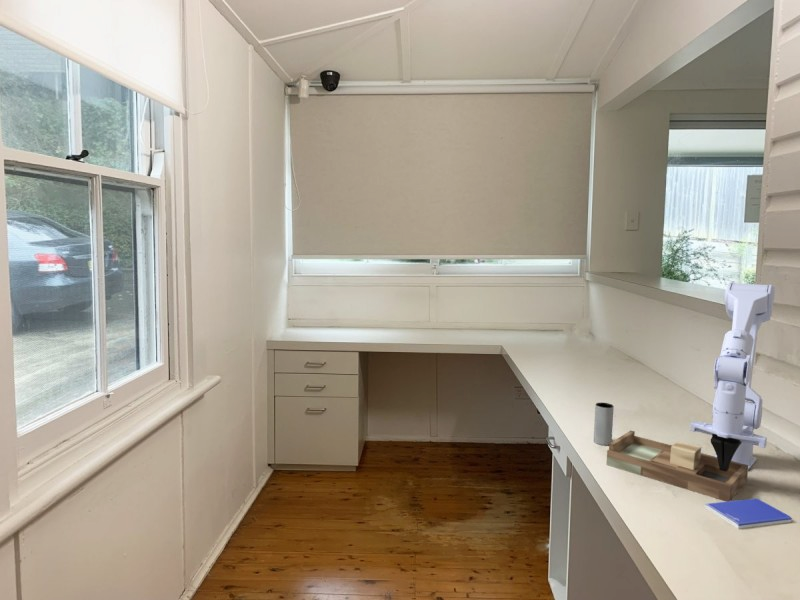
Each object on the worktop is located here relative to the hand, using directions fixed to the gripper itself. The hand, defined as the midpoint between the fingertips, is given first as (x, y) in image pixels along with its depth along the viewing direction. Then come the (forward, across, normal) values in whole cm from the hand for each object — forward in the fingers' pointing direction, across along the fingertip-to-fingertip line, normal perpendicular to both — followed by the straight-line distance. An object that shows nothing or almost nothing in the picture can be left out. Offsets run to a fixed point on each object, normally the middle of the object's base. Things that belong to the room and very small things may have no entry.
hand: (723, 469), depth 120 cm
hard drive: (+4, +7, -13) cm, 15 cm away
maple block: (+1, -8, 0) cm, 8 cm away
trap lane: (+3, -10, -2) cm, 10 cm away
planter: (+3, -30, +4) cm, 30 cm away
